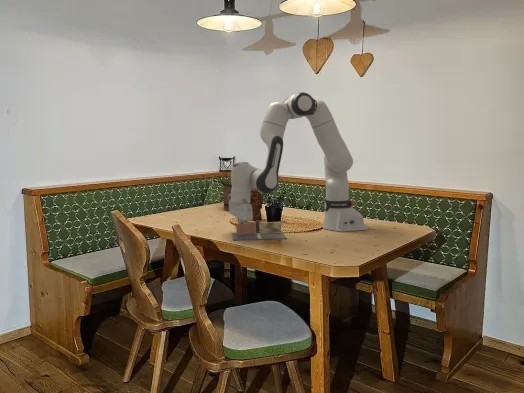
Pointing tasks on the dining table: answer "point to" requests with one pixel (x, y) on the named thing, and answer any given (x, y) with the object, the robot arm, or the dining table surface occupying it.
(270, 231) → the fixed fence panel
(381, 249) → the dining table surface
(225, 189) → the wooden container
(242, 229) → the hinged fence panel
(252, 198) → the wooden figurine
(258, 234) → the card
